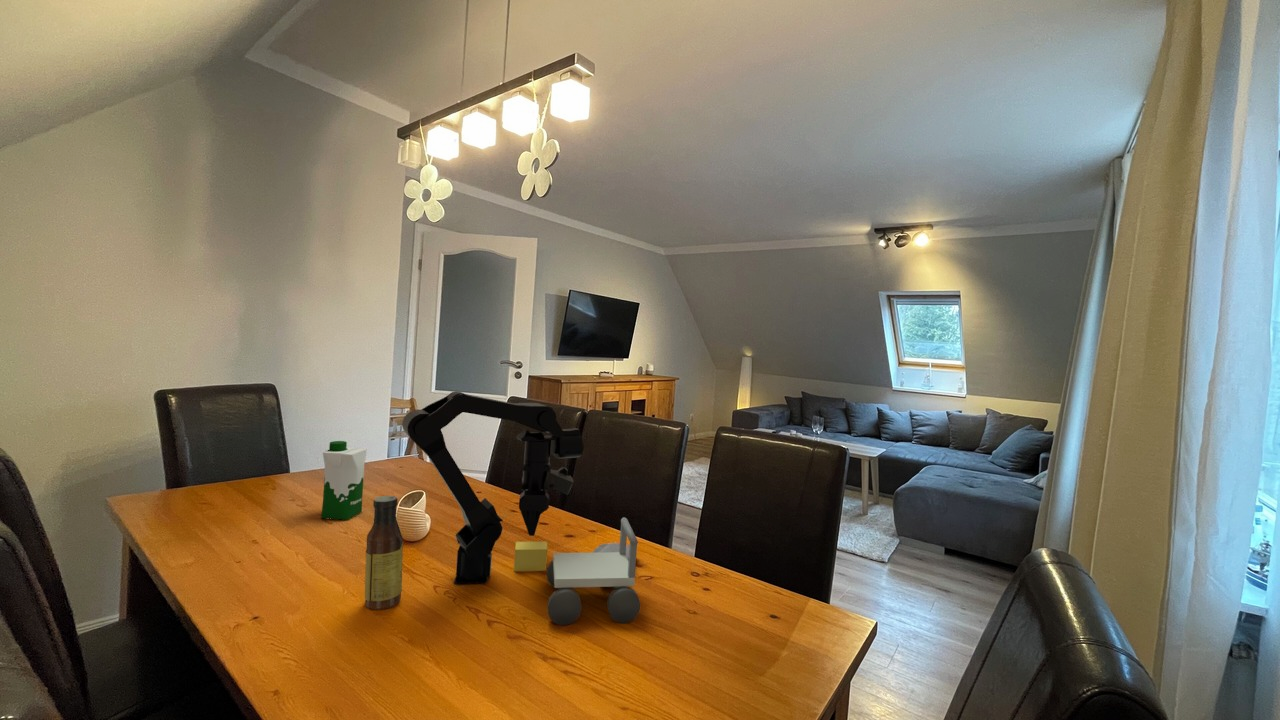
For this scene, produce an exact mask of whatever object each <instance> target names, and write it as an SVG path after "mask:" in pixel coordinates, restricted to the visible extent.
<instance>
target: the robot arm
mask: <svg viewBox="0 0 1280 720" xmlns="http://www.w3.org/2000/svg"><path fill="white" fill-rule="evenodd" d="M463 413H466V414H470V415H471V414H472V415H477V416H483V417H489V418H494V419H500V420H505V421H509V422H515V423H518V424H520V425H522V426H525V427H528V428H530V429H534V430H536V431H537V432H536V431H535V432H530V431H529V430H528V429H526V428H523V429H522V431H521V432H520V433H518V434H517V435H516V436H515V438H516V439H517V440H519V441H521V442H524V453H523V455H524V457H523V468H522V478H521V493H520V494H519V502H518V509H519V512H520V514H521V516H522V519H523V521H524V524H525V528H526V531H527V534H528V536H530V537H531V536H532V537H534V536H535V535H536V531H537V527H538V525H539V521H540V517H541V515H542V514H543V513H544V512H546V511H548V509H550V494H549V493H548V491H550V488H551V489H553V490H556V491H558V492H561V493H562V494H563V495H566V496H567V495H569V494H570V491H571V490H572V486H573V485H574V478H573V477H572V476H571V475H569V472H568V471H569V470H568V468H566V467H563V466H561V467H560V468H559V469H558V470H557V469H552V467H551V463H550V459H551V455H553V457H554V459H556V460H557V459H573V458H580V457H582V456H583V452H584V448H585V447H584V446H585V445H584V443H583V442H584V441H583V437H582V436H581V429H579V428H576V427H574V428H573V427H572V428H568V429H567V428H565V429H562V427H561V425H560V424H559V422H558V420H557V414H556V413H557V412H555V410H554V409H553V407H550V406H549V405H545V404H542V403H539V402H518V403H517V402H515V403H513V402H508V401H503V400H498V399H492V398H488V397H482V396H478V395H472V394H467V393H463V392H462V391H456V390H455V391H452V392H450V393H449V394H447V395H446V396H445V397H444V396H443V398H441V399H439V400H436V401H434V402H432V403H430V404H428V405H426V406H425V407H423V408H422V409H414V410H410V411H409V412H408V413H406V415H405V416H404V417H403V420H402V423H401V428H402V429H403V432H404V433H405V434H406V435H407V436H408V438H410V439H411V440H412V441H413V442H414V443H415V444H416V446H417V447H419V449H420V450H421V451H423V453H425V455H426V456H427V458H428V459H429V461H430V463H432V466H433V467H434V468H435V470H436V472H437V473H438V475H439V476H440V477H441V479H442V481H443V482H444V484H445V485H446V487H447V488H448V490H449V492H450V493H451V494H452V496H453V498H454V500H455V501H456V502H457V504H458V505H459V507H460V511H461V514H462V518H463V520H464V523H465V524H464V525H463V526H462V528H460V529H459V530H458V531H457V532H456V534H455V539H456V542H457V544H458V550H457V554H456V569H455V570H456V573H455V578H454V580H453V584H454V585H461V584H462V585H467V584H468V585H469V584H486V583H487V582H488V578H489V577H490V576H491V573H492V561H493V560H492V559H493V553H492V551H493V549H494V548H495V544H496V543H497V541H498V540H499V539H500V537H501V536H502V532H503V530H504V529H503V526H502V523H501V522H503V519H502V517H501V516H499V515H498V513H497V509H496V507H495V506H494V504H493V503H492V502H490V501H489V500H488V499H487V498H485V497H484V498H483V499H482V500H481V501H480V500H479V497H478V496H477V495H476V493H475V491H474V490H473V488H472V487H471V485H470V484H469V481H468V480H467V479H466V477H465V476H464V474H463V472H462V471H461V469H460V468H459V466H458V464H457V462H456V461H455V459H454V458H453V457H452V455H451V453H450V451H449V450H448V447H447V446H446V442H445V438H444V434H443V432H442V429H444V428H445V427H446V426H448V425H449V424H450V423H452V422H453V420H455V419H456V418H457V417H458V416H459V415H461V414H463ZM543 433H547V434H550V435H544V434H543Z"/></svg>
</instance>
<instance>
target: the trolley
mask: <svg viewBox="0 0 1280 720" xmlns="http://www.w3.org/2000/svg"><path fill="white" fill-rule="evenodd" d="M634 532H635V531H633V528H632V527H631V525H630V522H629V520H628V518H626V517H622V518H621V519H620V534H619V535H620V536H619V543H620V547H619V552H597V553H592V552H553V557H552V560H551V561H550V562H549V563H548V564H547V565H548V566H547V567H546V578H547V581H548V583H549V585H550V586H552V587H553V588H555V589H556V590H555V591H554V592H553V593H551V595H550V596H549V598H548V602H547V614H548V617H549V619H550V620H551V621H552V622H553V623H554V624H556V625H558V626H568V625H570V624H572V623H574V622H575V621H576V620H577V619H578V618H580V615H581V613H582V602H581V597H580V595H579V593H578V592H577V590H575V589H573V588H600V587H601V588H602V587H603V588H604V587H605V588H606V587H607V588H612V589H613V588H614V589H613V590H612V591H611V592H610V593H609V595H608V597H607V599H606V600H607V601H606V607H607V610H608V613H609V617H610V618H611V620H613V621H615V623H619V624H627V623H630V622H632V621H633V620H635V619H636V618H637V616H638V615H639V613H640V611H641V600H640V598H639V596H638V593H637V592H636V591H635V589H633V588H632V587H635V582H636V578H635V577H636V569H637V567H636V565H637V564H636V563H637V551H638V543H639V542H638V538H637V537H636V535H635V533H634ZM627 540H628V541H629V546H630V547H629V562H628V559H627V557H626V545H627Z"/></svg>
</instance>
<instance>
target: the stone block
mask: <svg viewBox="0 0 1280 720" xmlns="http://www.w3.org/2000/svg"><path fill="white" fill-rule="evenodd" d="M619 547H620V542H610V543H609V542H608V543H602V544H599V545H598V546H597V548H595V549H594V550H593V551H592V552H591V553H597V552H619ZM629 547H630V545H628V544H626V557H627V559H628V562H629Z"/></svg>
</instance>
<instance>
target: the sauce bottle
mask: <svg viewBox="0 0 1280 720" xmlns="http://www.w3.org/2000/svg"><path fill="white" fill-rule="evenodd" d="M398 504H399V503H398V497H397V496H394V495H382V496H377V497H375V498H374V499H373V505H372V506H373V508H374V511H373V513H374V515H373V516H374V519H373V523H372V526H371V529H370V530H369V532H367V535H366V550H365V576H364V577H365V578H364V600H365V601H364V604H365V606H366V607H367V608H369V609H370V610H376V611H377V610H386V609H390V608H392V607H394V606H396V605H397V604H399V602H400V601H401V598H402V592H403V565H404V564H403V559H404V558H403V557H404V556H403V555H404V553H403V551H404V550H403V549H404V540H403V539H404V538H403V534H402V532H401V529H400V527H399V522H398V520H397V506H398Z"/></svg>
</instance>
